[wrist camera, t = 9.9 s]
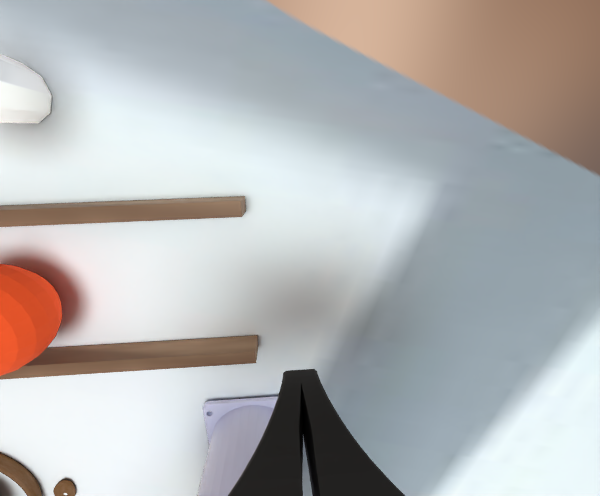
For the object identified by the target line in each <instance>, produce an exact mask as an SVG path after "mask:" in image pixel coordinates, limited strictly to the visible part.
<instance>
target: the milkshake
mask: <svg viewBox="0 0 600 496" xmlns="http://www.w3.org/2000/svg"><path fill="white" fill-rule="evenodd" d="M51 99H52V95H51V93H50V91H49V89H48V87H47V85H46V83H45V81H44V80H43V78H42V76H40V75H39V74H37V73H36V72H34V71H33V70H32V69H30V68H29V67H27V66H26V65H24V64H23V63H21V62H18V61H16V60H14V59H12V58H9V57H7V56H5V55H2V54H0V123H33V124H38V123H40V122H41V121H42V120H43V119H44V118H45V117H46V116H47V115H49V114H50V111H51Z"/></svg>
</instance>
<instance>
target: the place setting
mask: <svg viewBox="0 0 600 496" xmlns="http://www.w3.org/2000/svg"><path fill="white" fill-rule="evenodd" d="M0 472H1V473H3V474H5V475H6V476H8V477H9V478H11V479H12V480H13V481H15V482H16V483H17V484H18V485H19V486H20V487H21V488H22V489H23V490H24V492H25V493H26V494H27V496H42V493H41V489H40V486H39V484H38V482H37V480H36V479H35V478H34V476H33V475H32V474H31V473H30V472H29V471H28V470H27V469H26V468H25V467H24V466H22V465H21V464H20V463H18V462H17V461H15V460H13V459H12V458H10V457H8V456H6V455H4V454H1V453H0ZM63 493H67V494H68V495H67V496H75V494H76V489H75V486H74V484H73V483H72V482H71V481H68V480H63V481H61V482H59V483H58V484H57V485H56V486H55V488H54V495H55V496H66V495H64V494H63Z"/></svg>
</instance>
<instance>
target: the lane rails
mask: <svg viewBox="0 0 600 496" xmlns="http://www.w3.org/2000/svg"><path fill="white" fill-rule="evenodd" d="M245 212H246V204H245V196H236V197H210V198H184V199H159V200H133V201H107V202H81V203H55V204H29V205H3V206H0V227H10V226H34V225H58V224H82V223H106V222H130V221H154V220H178V219H202V218H225V217H242V216H243V215H244V213H245ZM257 352H258V337H257V335H254V336H238V337H221V338H204V339H188V340H171V341H154V342H137V343H121V344H104V345H87V346H71V347H54V348H46V349H45V350H44V351H43V352H42V353H41V354H40V355H39V356H38V357H36V358H35V359H33V360H32V361H30V362H29V363H27V364H26V365H24V366H22V367H21V368H19V369H18V370H16V371H13V372H10V373H7V374H4V375H1V376H0V379H14V378H30V377H45V376H61V375H77V374H92V373H108V372H123V371H139V370H155V369H170V368H186V367H201V366H217V365H233V364H248V363H256V360H257Z"/></svg>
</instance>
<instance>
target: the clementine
mask: <svg viewBox="0 0 600 496" xmlns="http://www.w3.org/2000/svg"><path fill="white" fill-rule="evenodd" d="M61 320H62V306H61V301H60V298H59V296H58V293H57V292H56V290H55V289H54V287H53V286H52V285H51V284H50V283H49V282H48V281H47V280H46V279H44V278H43V277H41V276H39V275H38V274H36V273H34V272H31V271H29V270H26V269H23V268H20V267H18V266H13V265H6V264H0V376H1V375H4V374H7V373H10V372H13V371H16V370H18V369H19V368H21V367H22V366H24V365H26V364H27V363H29V362H30V361H32V360H33V359H35V358H36V357H38V356H39V355H40V354H41V353H42V352H43V351H44V350H45V349H46V348H47V347H48V346H49V344H50V343H51V342H52V340H53V339H54V338H55V336H56V334H57V332H58V329H59V327H60V324H61Z"/></svg>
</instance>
